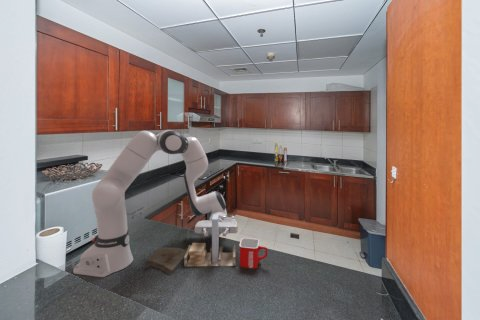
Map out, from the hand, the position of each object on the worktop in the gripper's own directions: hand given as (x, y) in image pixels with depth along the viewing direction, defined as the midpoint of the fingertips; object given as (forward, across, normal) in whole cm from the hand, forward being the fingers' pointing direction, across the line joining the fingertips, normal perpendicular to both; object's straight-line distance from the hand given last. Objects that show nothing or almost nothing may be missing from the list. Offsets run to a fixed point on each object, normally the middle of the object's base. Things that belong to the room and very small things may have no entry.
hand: (215, 234), depth 92 cm
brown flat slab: (0, -22, +14) cm, 26 cm away
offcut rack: (-1, -2, +14) cm, 14 cm away
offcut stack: (-1, -8, +12) cm, 14 cm away
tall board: (-1, 0, +12) cm, 12 cm away
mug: (+2, +17, +14) cm, 22 cm away
